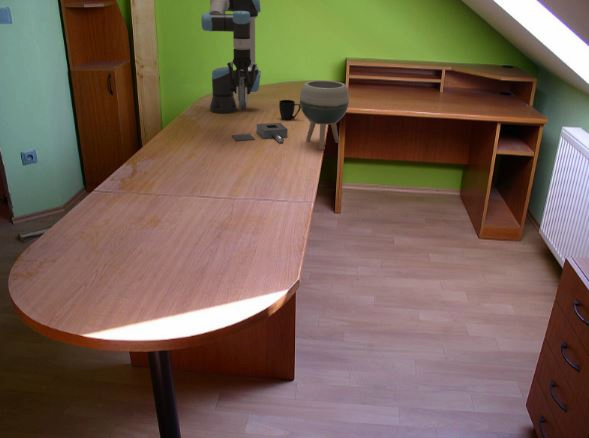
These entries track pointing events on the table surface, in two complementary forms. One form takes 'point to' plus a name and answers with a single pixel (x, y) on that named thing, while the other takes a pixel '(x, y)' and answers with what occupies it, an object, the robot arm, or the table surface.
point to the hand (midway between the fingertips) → (242, 100)
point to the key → (242, 93)
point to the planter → (324, 106)
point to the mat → (242, 137)
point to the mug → (287, 109)
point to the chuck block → (272, 131)
